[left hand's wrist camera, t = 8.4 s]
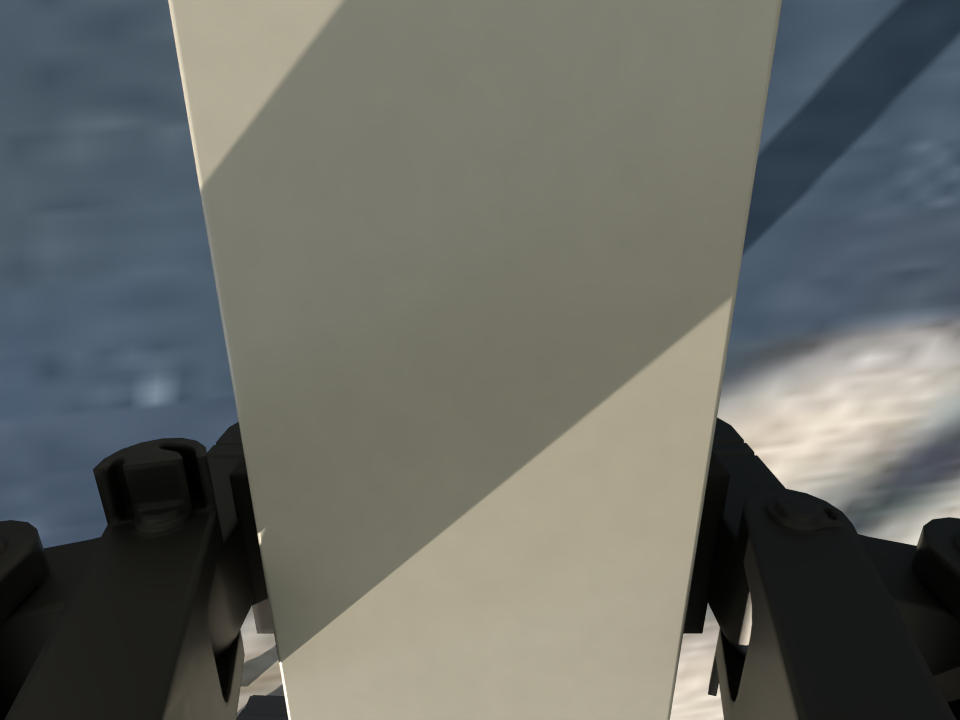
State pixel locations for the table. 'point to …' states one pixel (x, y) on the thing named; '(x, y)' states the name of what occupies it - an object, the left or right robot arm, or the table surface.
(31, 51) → the table surface
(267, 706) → the toy
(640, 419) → the bar
